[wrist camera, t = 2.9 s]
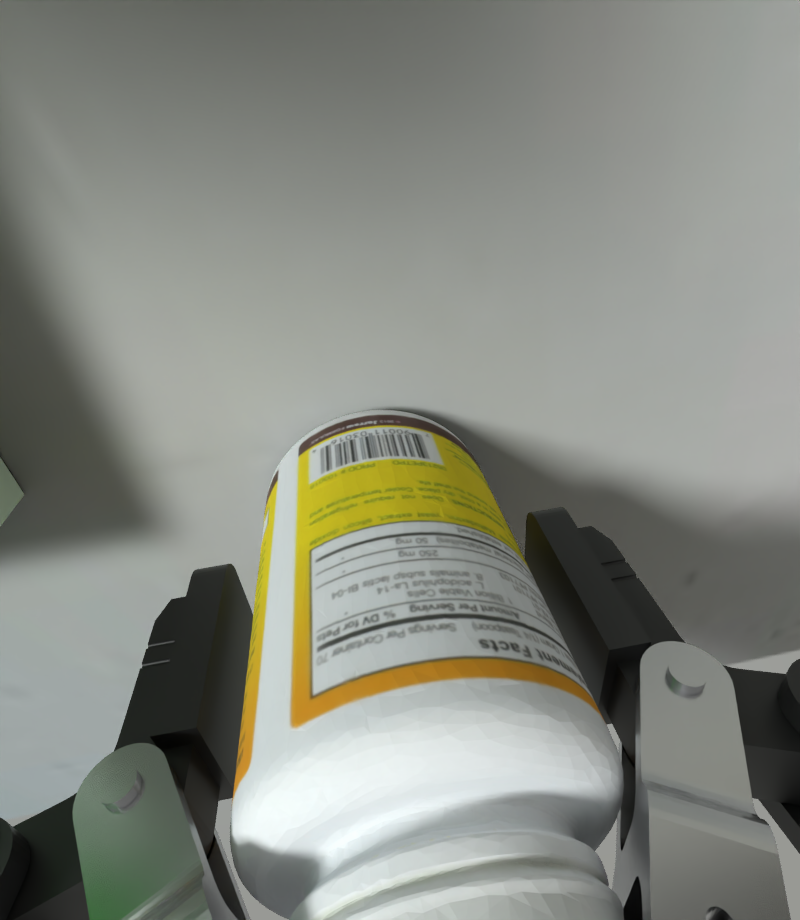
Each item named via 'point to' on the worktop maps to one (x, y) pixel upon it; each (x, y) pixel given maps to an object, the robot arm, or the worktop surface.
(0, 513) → the tray
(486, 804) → the supplement bottle
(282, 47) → the worktop surface
